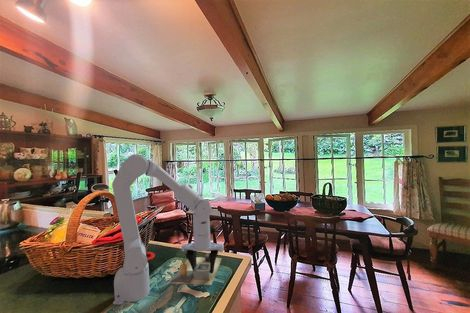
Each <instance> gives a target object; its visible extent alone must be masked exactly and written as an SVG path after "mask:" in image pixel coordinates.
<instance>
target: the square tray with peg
mask: <svg viewBox="0 0 470 313" xmlns="http://www.w3.org/2000/svg"><path fill="white" fill-rule="evenodd" d="M179 266H180V267H179V269H178V270H177V272H176V273H175V275H174V276H173V277H172V279H171V280H170V283H171V282H190V281H191V279H192V277H193V271H187V265H186V264H185V262H182V263H181V264H179Z"/></svg>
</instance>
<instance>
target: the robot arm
mask: <svg viewBox="0 0 470 313" xmlns="http://www.w3.org/2000/svg"><path fill="white" fill-rule="evenodd" d="M144 174H145V176H147V177H151V178H152V177H153V178H156V179H157V180H159V181H160V182H161V183H162V184H164V185H165V186H167V188H169V189H170V190H172V191H173V196H174V198H175V199H176V200H177V201H179V202H180V203H182V204H183V205H184V206H185V207H186V208H187V209H190V210H191V212H193V213H192V223H193V224H192V227H193V228H192V230H193V242H191V243H183V244H182V245H181V252H186V253H185V257H186V258H187V259H188V260H189V262H190V264H191V267H192V270H194V269H195V267H196V265H197V262H196V257H197V252H209V253H210V254H209V258H210V272H211V273H213V271H214V265H215V260H216V258H218V254H219V253H224V249H225V248H224V244H221V243H214V242H211V241H212V240H211V220H210V214H211V212H212V209H213V207H212V205H211V203H210V202H209V201H208V200H206V199H205V198H204V197H203V194H201V193H198V192H197V191H195V189H193V186H192V185H191V184H188V183H180V182H178V181H177V180H176V179H175V178H174V177H173V176H171V175H170V174H169V173H168V172H167V171H166V170H164V169H163V167H161V166H160V165H159V164H157V163H155V162H153V161H152V160H150V159H147V157H145V156H144V155H142V154H137V153H136V154H131V155H130V156H128V157H127V158H126V159H125V160H124V161H123V162H122V163H121V164H120V167H119V169H118V171H117V173H116V175H115V177H114V179H113V181H112V186H111V188H112V191H113V197H114V201H115V205H116V206H115V207H116V211H117V212H116V213H117V216H118V221H119V226H120V231H121V235H122V240H123V249H124V250H123V251H124V260H123V266H122V267H120V268H119V269H118V270H117V271H116V273H115V275H114V278H113V279H114V280H113V288H114V290H113V291H114V292H113V293H114V301H113V302H112V303H113V304H112V305H119V306H120V305H123V303H124V302H125V301H126V302H129V303H134V302H139V301H141V300H144V299H145V298H146V297H147V296H148V295H149V294H150V292H151V289H150V288H151V287H150V284H151V283H150V269H149V261H147V258H148V257H147V255H146V252H147V247H146V245H145V244H144V243H143V241H142V239H141V235H140V230H139V226H138V221H137V216H136V211H135V205H134V202H133V196H132V195H133V194H132V190H131V186H132V185H133V184H134V183H135V182H136V180H137V179H138V178H140V177H141V176H143V175H144ZM187 259H186V260H187Z"/></svg>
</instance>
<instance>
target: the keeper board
mask: <svg viewBox="0 0 470 313" xmlns="http://www.w3.org/2000/svg"><path fill="white" fill-rule="evenodd" d="M210 253H211V252H206V254H205V255H204V256H205V257H203V256H199V257H198V256H196V262H197V263H210V258H209V254H210ZM222 258H223V257H216V260H215V265H214V271H213V273H212V276H211V278H210V280H193V277H192V279H191V281H190V282H171V281H170V284H173V285H175V284H176V285H177V284H179V285H181V284H182V285H203V286H204V285H205V286H212V285H213V283H214V280H215V277H216V275H217V272H218V269H219V267H220V264H221V262H222ZM184 263H185V264H186V265H187V271H193V270H192V267H191V264H190V262H189V260H188V259H186V260H185V262H184Z"/></svg>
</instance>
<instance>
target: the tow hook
mask: <svg viewBox="0 0 470 313" xmlns="http://www.w3.org/2000/svg"><path fill="white" fill-rule="evenodd" d="M146 256H148V257H147V262H150V261H151V260H154V258H155V256H156V254H155V253H154V252H151V251H146Z"/></svg>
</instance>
